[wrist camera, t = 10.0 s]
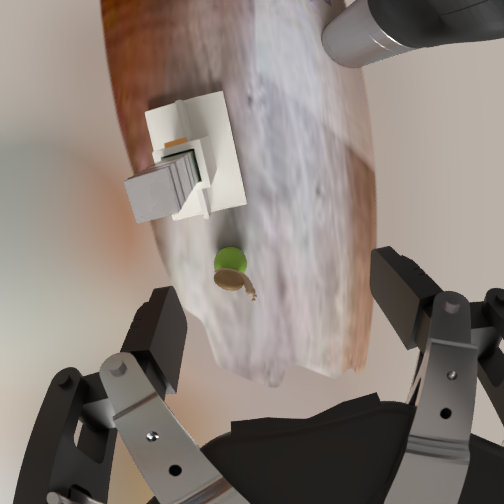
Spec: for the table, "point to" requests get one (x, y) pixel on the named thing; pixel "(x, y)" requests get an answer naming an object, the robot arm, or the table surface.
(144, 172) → the steel bar
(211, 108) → the grey stand
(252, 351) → the table surface
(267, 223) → the table surface
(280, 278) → the table surface
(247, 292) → the snail figurine
